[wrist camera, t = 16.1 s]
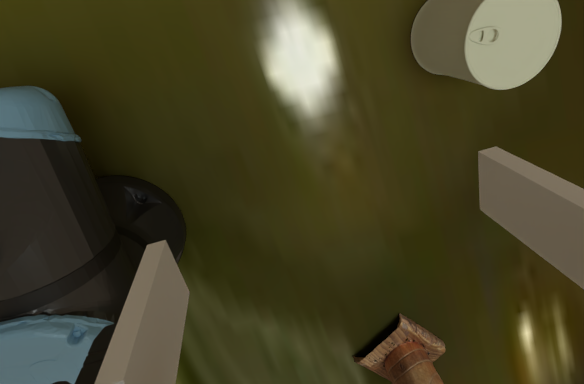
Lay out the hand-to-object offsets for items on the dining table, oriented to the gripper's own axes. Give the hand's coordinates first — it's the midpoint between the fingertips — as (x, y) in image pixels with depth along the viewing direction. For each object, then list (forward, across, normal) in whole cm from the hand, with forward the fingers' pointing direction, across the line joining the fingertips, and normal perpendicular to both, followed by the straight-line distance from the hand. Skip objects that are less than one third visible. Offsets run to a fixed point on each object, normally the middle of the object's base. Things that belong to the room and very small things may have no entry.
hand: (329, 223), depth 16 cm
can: (+32, +22, +1) cm, 39 cm away
